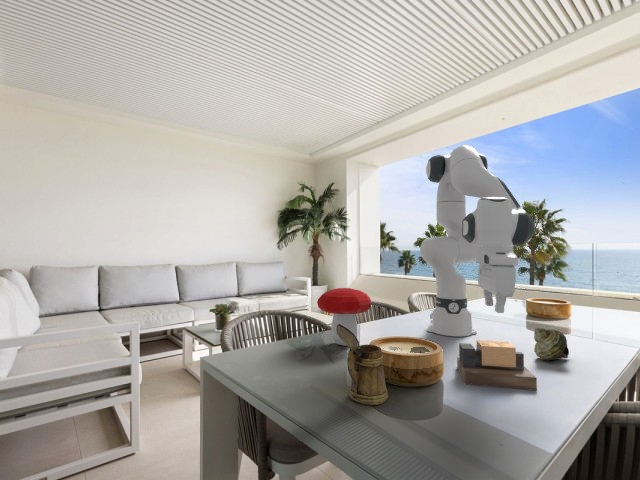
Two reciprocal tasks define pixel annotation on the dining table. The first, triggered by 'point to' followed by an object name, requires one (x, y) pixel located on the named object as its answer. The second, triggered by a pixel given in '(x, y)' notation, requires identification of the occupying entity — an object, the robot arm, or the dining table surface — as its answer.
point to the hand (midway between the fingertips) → (494, 308)
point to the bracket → (493, 371)
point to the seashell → (550, 344)
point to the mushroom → (344, 308)
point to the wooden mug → (364, 370)
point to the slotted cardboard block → (497, 353)
